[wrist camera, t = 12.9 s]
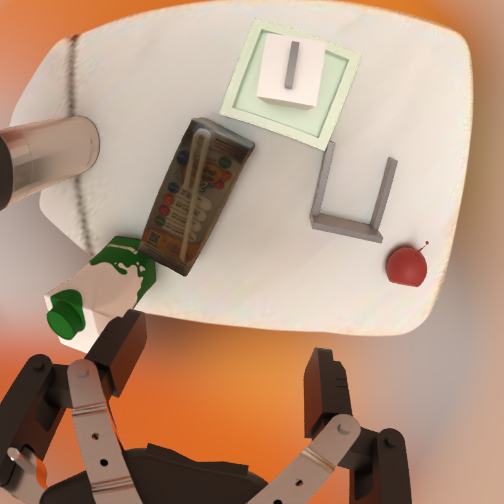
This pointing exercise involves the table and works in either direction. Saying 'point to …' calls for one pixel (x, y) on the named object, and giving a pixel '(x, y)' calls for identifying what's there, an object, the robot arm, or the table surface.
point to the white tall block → (291, 71)
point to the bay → (350, 226)
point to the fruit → (407, 267)
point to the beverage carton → (193, 194)
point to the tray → (283, 117)
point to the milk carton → (99, 293)
